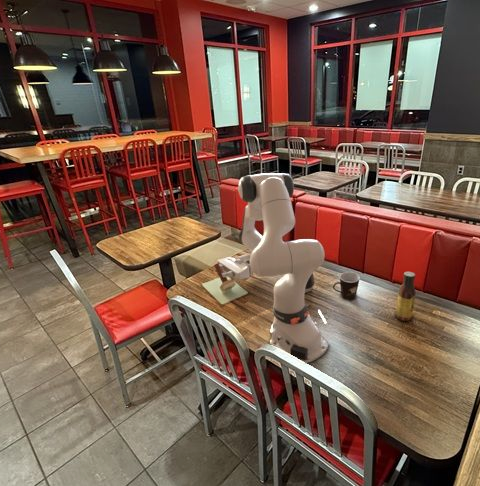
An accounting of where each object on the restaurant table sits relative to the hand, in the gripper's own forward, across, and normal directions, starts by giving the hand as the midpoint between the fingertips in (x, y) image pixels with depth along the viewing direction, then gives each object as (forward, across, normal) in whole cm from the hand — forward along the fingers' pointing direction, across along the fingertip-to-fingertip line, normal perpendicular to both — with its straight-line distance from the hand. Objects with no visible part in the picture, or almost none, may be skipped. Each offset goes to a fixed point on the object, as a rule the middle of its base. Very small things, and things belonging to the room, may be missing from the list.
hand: (218, 273), depth 146 cm
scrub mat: (-2, +1, +9) cm, 9 cm away
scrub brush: (-1, +6, +6) cm, 9 cm away
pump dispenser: (-29, +27, +9) cm, 41 cm away
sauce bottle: (-46, +69, +10) cm, 83 cm away
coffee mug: (-40, +44, +9) cm, 60 cm away
